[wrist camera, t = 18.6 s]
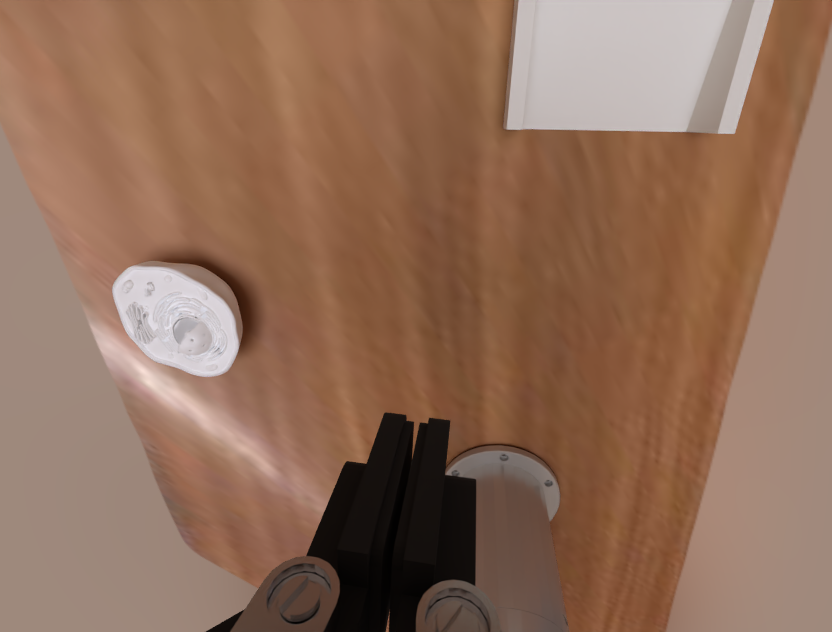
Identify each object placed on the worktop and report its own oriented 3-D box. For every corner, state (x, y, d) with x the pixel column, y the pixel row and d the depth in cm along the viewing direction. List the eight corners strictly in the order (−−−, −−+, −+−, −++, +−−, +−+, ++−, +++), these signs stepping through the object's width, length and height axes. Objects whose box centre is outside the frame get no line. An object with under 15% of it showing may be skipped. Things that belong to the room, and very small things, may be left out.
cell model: (175, 222, 39) (119, 241, 33) (283, 304, 41) (249, 336, 35) (133, 299, 43) (76, 328, 37) (234, 370, 45) (196, 409, 39)
